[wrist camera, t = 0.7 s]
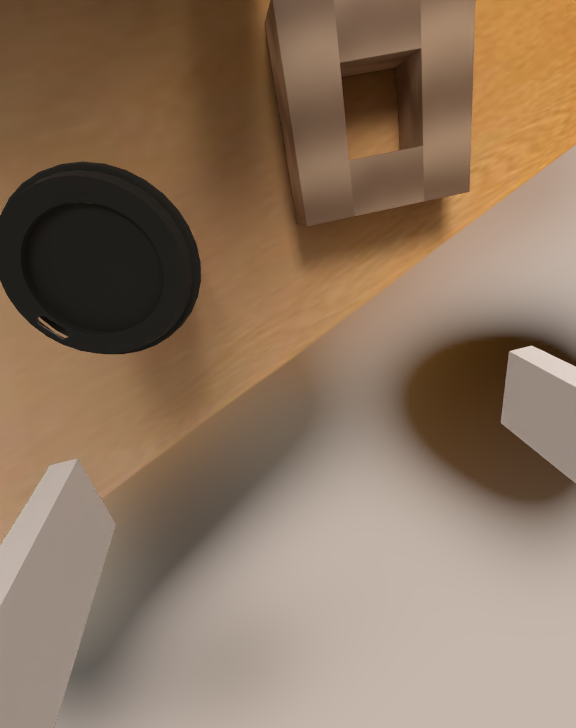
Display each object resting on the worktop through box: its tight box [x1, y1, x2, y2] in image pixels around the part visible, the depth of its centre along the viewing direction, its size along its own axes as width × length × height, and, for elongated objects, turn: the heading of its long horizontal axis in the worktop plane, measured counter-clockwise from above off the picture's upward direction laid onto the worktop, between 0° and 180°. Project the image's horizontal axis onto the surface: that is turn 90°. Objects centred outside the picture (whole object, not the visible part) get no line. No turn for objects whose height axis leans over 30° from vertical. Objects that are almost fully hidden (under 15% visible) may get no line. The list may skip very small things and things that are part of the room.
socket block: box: [265, 0, 475, 226], centre depth 28 cm, size 14×14×4 cm
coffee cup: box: [0, 162, 201, 354], centre depth 24 cm, size 10×10×15 cm
